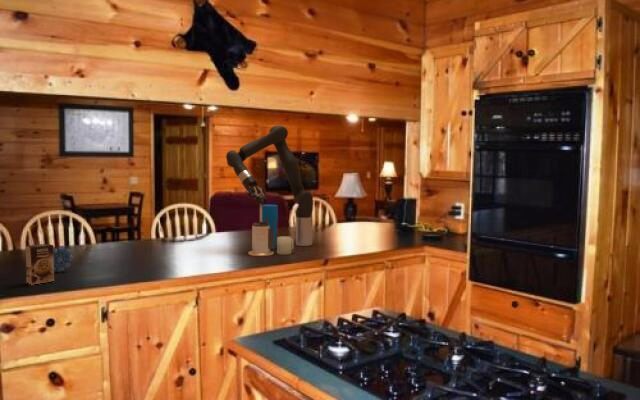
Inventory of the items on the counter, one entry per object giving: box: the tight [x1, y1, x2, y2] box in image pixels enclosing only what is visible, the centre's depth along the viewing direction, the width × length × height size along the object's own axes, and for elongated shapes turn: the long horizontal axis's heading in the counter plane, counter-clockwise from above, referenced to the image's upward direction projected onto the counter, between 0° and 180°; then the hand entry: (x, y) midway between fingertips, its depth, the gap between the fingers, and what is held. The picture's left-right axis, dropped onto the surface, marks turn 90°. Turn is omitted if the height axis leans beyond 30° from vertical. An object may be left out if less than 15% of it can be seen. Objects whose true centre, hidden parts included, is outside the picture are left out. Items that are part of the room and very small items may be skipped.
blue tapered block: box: [262, 204, 279, 249], centre depth 321 cm, size 11×11×25 cm
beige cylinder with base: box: [247, 222, 275, 257], centre depth 299 cm, size 14×14×17 cm
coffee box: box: [25, 243, 55, 286], centre depth 228 cm, size 9×6×16 cm
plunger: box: [258, 195, 266, 224], centre depth 298 cm, size 5×5×22 cm
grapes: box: [53, 245, 74, 273], centre depth 249 cm, size 12×7×12 cm, turn 120°
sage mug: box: [276, 235, 295, 255], centre depth 303 cm, size 9×8×9 cm
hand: (263, 202), depth 297 cm, fingers closed on plunger, 3 cm apart
